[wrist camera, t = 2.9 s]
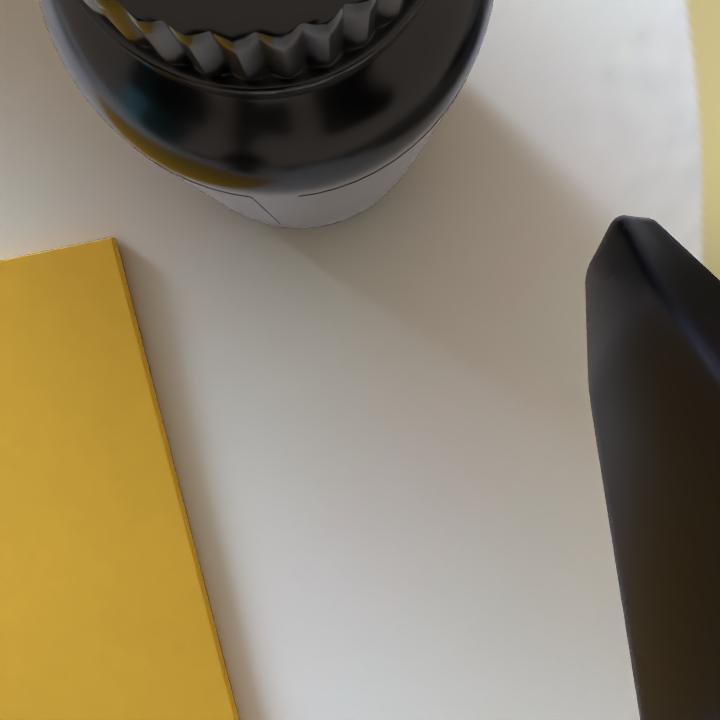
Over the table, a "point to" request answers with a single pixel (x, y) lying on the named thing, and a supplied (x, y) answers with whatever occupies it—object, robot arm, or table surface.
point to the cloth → (93, 510)
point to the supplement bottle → (273, 91)
